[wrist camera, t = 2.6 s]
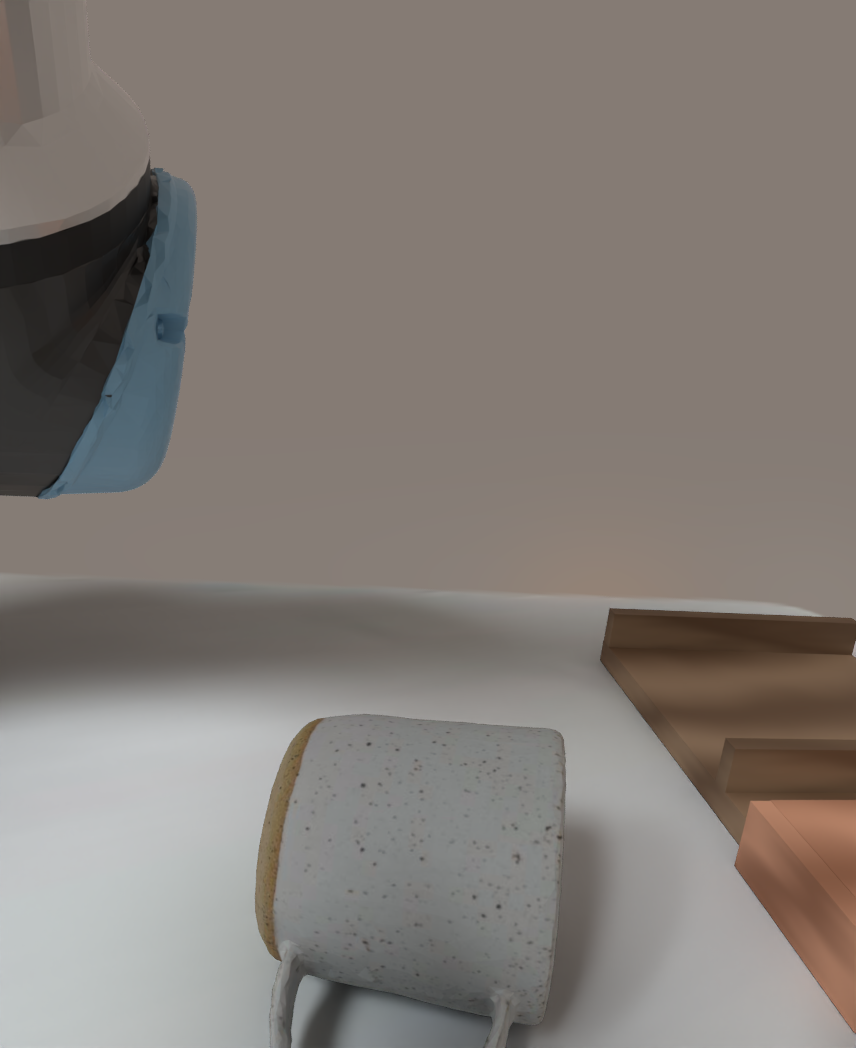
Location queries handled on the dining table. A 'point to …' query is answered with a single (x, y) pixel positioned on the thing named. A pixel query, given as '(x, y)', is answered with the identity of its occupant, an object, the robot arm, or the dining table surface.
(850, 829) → the rack
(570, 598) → the dining table surface
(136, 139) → the robot arm
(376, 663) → the dining table surface
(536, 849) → the ceramic mug
